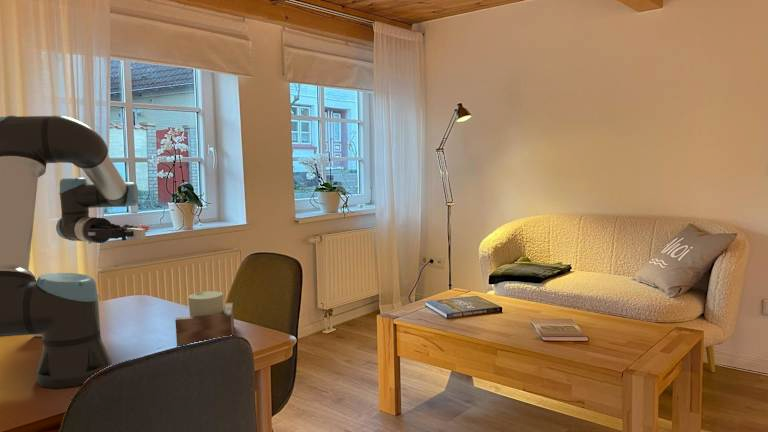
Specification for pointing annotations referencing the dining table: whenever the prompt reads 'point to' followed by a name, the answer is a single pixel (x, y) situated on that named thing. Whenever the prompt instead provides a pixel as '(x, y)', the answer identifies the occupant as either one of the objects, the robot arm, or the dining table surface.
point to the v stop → (204, 326)
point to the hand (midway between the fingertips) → (143, 234)
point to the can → (206, 303)
